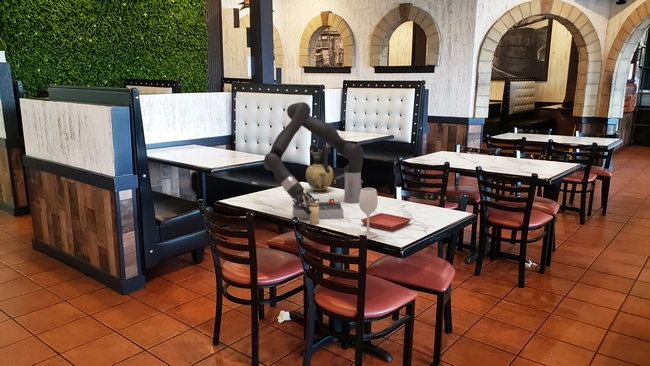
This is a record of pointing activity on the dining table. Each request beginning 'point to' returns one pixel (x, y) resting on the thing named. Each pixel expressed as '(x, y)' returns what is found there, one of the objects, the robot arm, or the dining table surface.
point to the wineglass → (368, 207)
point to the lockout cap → (314, 213)
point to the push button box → (321, 210)
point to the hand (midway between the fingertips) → (314, 211)
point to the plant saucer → (386, 221)
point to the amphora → (319, 169)
